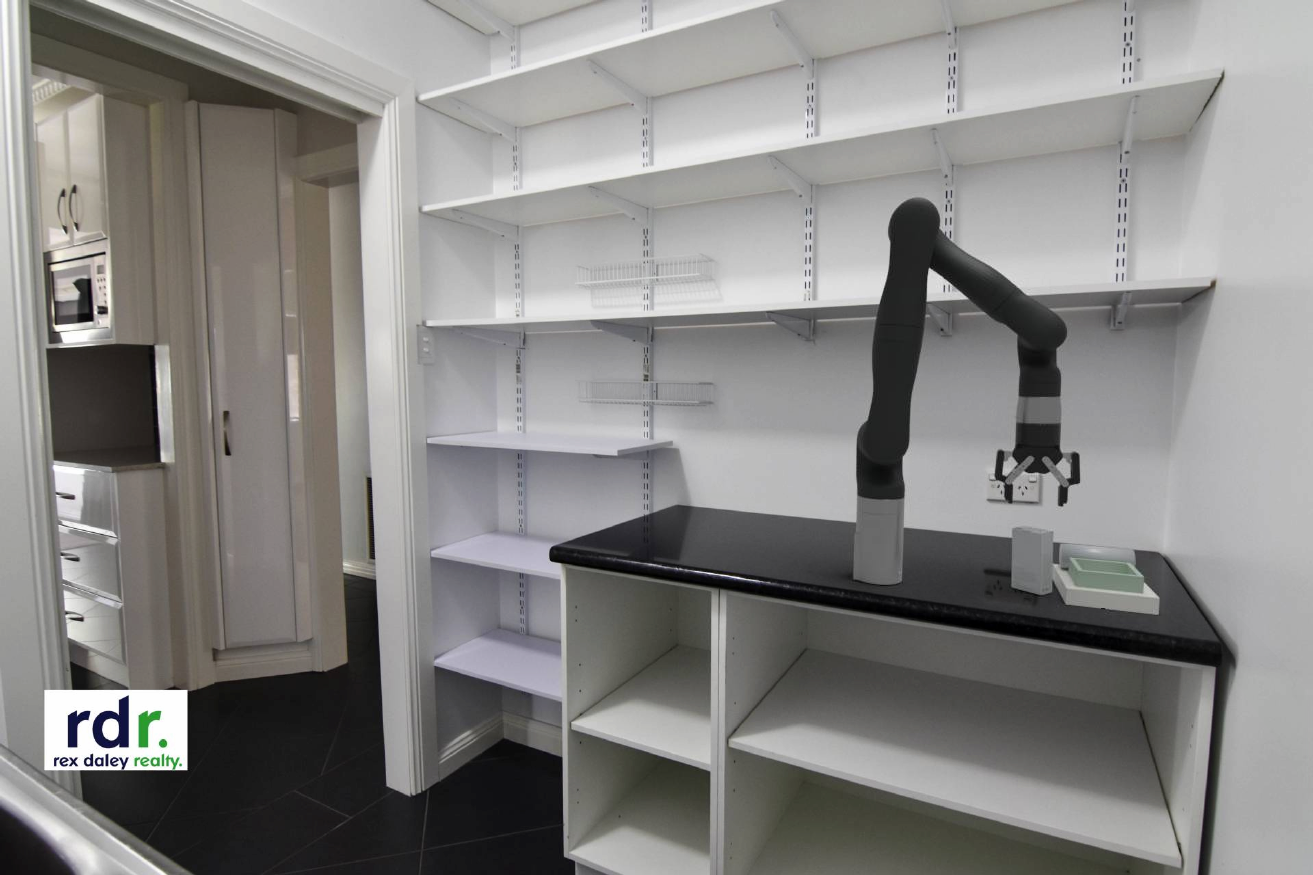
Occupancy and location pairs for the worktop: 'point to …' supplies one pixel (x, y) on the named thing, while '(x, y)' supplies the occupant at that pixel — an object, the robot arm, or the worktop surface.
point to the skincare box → (1032, 560)
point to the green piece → (1106, 575)
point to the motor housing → (1101, 597)
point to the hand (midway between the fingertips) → (1035, 504)
